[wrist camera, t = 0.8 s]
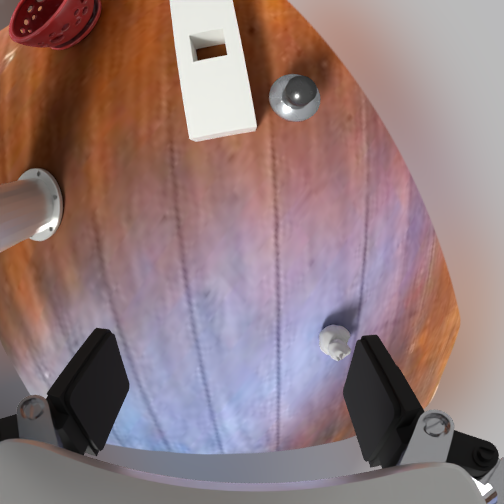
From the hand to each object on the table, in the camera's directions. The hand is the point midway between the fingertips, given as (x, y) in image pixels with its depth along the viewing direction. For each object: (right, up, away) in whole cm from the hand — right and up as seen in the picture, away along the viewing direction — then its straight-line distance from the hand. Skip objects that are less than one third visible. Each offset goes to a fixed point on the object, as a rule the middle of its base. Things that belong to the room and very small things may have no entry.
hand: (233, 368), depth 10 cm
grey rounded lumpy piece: (+15, -10, +37) cm, 41 cm away
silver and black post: (+6, +24, +25) cm, 35 cm away
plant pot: (-29, +43, +18) cm, 55 cm away
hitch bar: (-5, +31, +22) cm, 39 cm away
